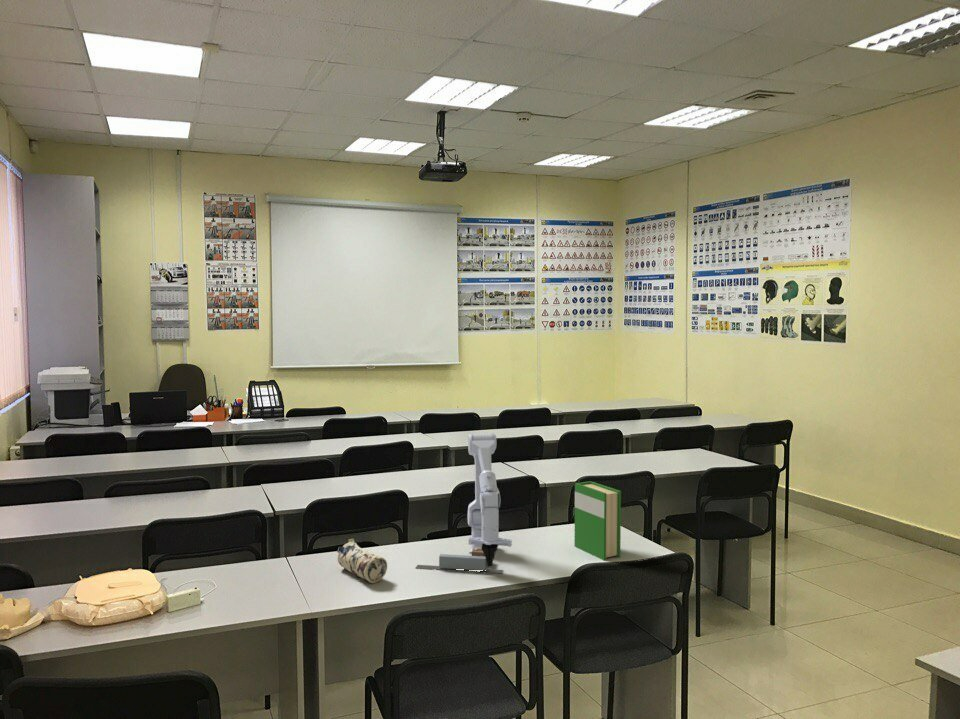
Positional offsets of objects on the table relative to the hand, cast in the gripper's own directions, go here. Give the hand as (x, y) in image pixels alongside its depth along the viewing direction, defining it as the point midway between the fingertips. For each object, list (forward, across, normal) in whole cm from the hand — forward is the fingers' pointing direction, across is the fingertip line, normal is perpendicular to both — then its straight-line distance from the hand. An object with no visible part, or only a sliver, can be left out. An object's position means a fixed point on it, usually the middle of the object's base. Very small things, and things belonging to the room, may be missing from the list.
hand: (490, 565), depth 244 cm
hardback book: (+2, +35, +27) cm, 45 cm away
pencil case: (+2, -42, -10) cm, 43 cm away
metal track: (+2, -11, 0) cm, 11 cm away
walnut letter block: (+2, -5, +7) cm, 9 cm away
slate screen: (+2, -9, 0) cm, 10 cm away
